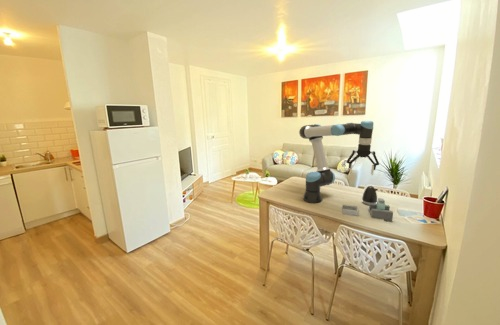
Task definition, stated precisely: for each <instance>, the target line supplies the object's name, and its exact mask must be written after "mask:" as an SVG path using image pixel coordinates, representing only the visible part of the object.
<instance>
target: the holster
mask: <svg viewBox="0 0 500 325" xmlns="http://www.w3.org/2000/svg"><path fill="white" fill-rule="evenodd" d="M341 211H342V215H348V216H355V217H359V214H360V213H359V212H360V211H359V210H358V205H352V204H342V210H341Z"/></svg>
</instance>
